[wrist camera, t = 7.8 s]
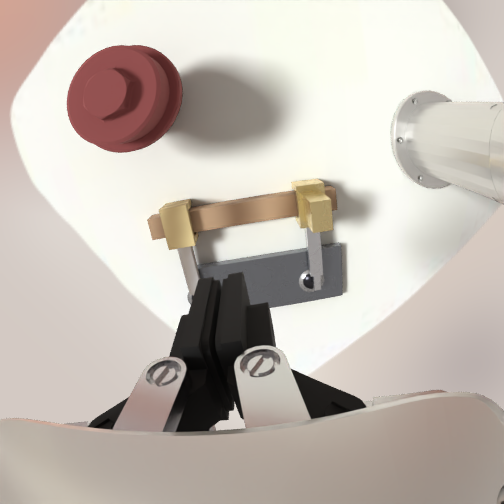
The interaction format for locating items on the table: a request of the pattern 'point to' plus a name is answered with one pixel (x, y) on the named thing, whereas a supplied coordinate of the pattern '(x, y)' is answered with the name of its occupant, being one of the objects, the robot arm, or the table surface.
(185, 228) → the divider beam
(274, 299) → the hole plate
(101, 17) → the table surface
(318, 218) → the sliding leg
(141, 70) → the mechanical component
